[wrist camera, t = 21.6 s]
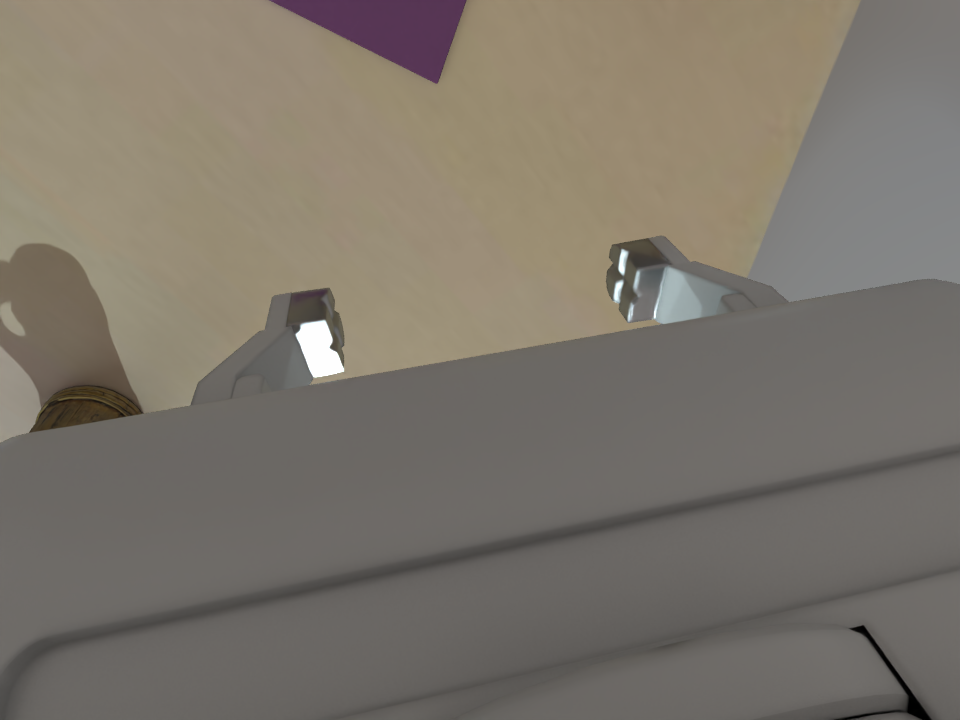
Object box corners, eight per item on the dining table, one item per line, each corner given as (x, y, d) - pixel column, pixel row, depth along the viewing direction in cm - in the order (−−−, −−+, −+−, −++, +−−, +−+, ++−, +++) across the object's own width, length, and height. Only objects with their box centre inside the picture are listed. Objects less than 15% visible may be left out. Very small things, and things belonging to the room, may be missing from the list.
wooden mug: (-24, 388, 46) (-232, 547, 31) (132, 384, 48) (9, 531, 33) (17, 458, 51) (-147, 627, 35) (157, 451, 53) (59, 608, 38)
